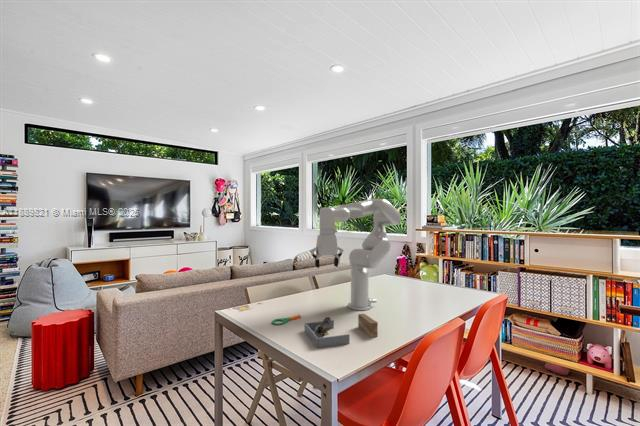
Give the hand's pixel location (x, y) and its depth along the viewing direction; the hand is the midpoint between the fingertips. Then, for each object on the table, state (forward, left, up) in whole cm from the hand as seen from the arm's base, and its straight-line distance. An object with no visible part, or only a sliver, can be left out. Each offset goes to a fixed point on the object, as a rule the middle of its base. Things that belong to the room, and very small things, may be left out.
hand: (326, 266), depth 154 cm
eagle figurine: (+9, +21, -25) cm, 34 cm away
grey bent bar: (+9, +25, -24) cm, 36 cm away
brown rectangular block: (-10, +25, -24) cm, 36 cm away
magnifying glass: (+20, +1, -25) cm, 32 cm away
